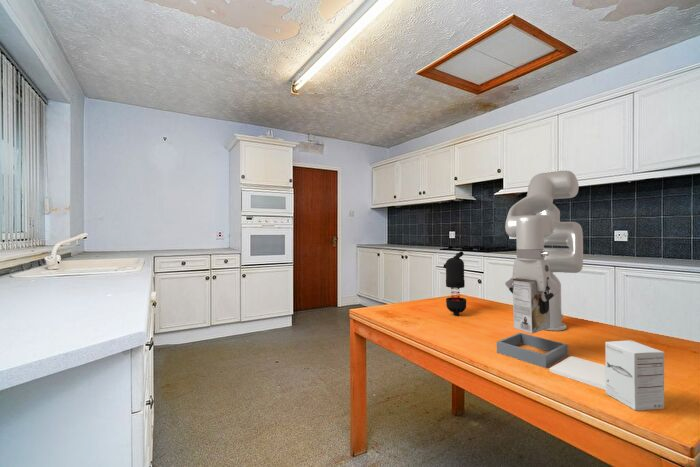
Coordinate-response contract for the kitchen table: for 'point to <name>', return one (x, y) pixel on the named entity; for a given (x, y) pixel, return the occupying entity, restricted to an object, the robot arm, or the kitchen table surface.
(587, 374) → the mat
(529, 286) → the coffee box
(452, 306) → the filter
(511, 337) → the packet holder
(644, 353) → the supplement box
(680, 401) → the kitchen table surface
